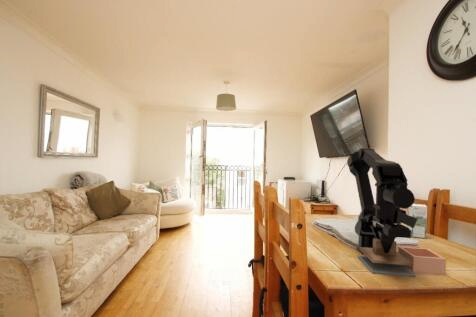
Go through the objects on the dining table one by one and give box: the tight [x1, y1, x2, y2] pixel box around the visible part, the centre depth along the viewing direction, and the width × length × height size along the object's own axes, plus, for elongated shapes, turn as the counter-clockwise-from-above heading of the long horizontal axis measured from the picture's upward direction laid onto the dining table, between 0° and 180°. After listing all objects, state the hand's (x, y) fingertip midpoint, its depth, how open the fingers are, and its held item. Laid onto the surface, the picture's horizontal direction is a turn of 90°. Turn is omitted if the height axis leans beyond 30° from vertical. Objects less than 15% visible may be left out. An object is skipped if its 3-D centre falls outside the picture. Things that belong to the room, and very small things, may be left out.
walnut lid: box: [360, 238, 412, 265], centre depth 80 cm, size 11×11×5 cm
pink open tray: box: [397, 246, 447, 276], centre depth 80 cm, size 9×9×5 cm
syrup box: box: [407, 203, 428, 239], centre depth 114 cm, size 6×6×14 cm
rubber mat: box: [357, 255, 416, 278], centre depth 80 cm, size 12×12×1 cm
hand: (384, 251), depth 80 cm, fingers closed on walnut lid, 2 cm apart
